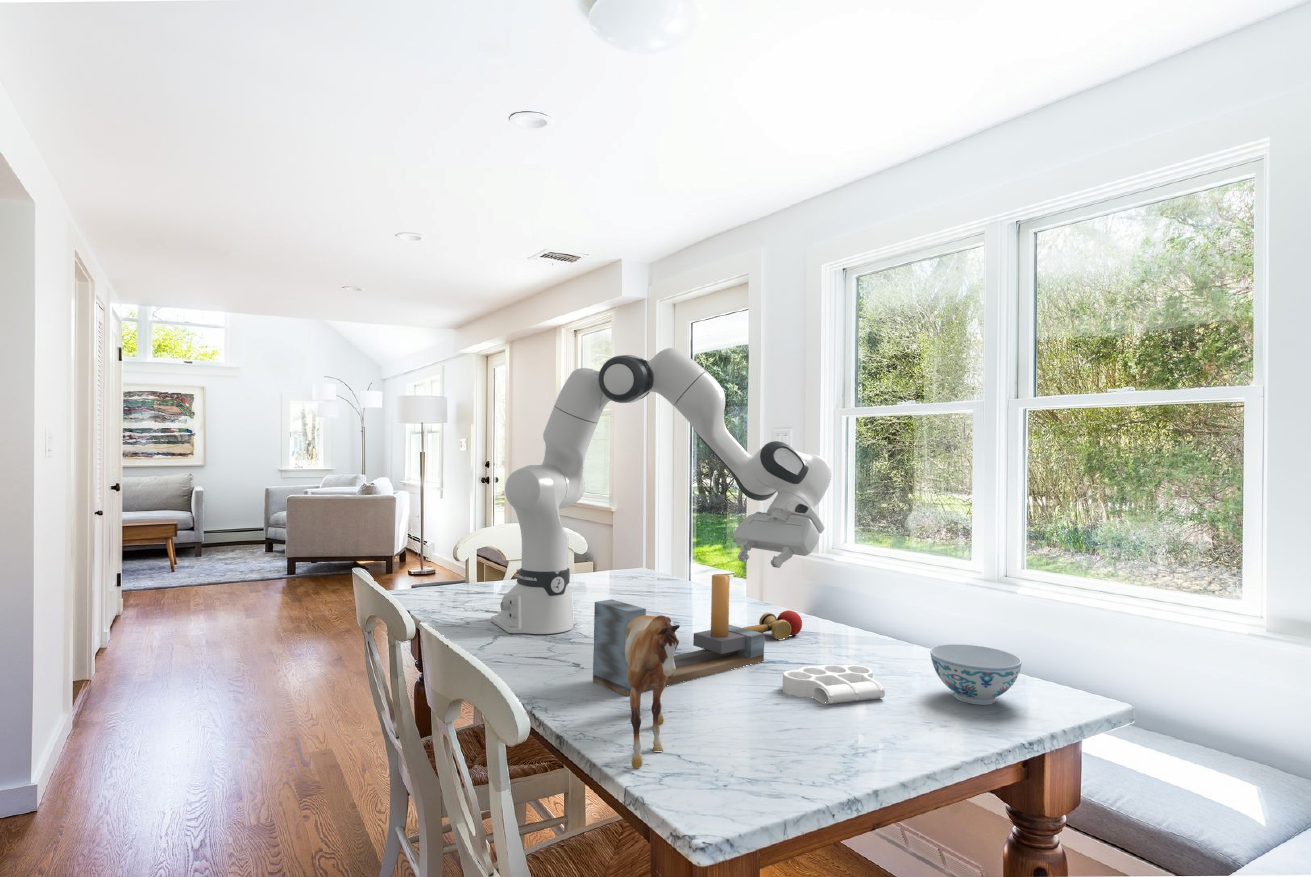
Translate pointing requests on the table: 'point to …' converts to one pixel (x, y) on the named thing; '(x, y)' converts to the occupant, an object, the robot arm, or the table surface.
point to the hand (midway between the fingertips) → (757, 562)
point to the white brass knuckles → (833, 683)
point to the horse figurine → (649, 670)
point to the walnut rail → (689, 666)
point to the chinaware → (975, 671)
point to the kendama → (779, 624)
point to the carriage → (719, 621)
